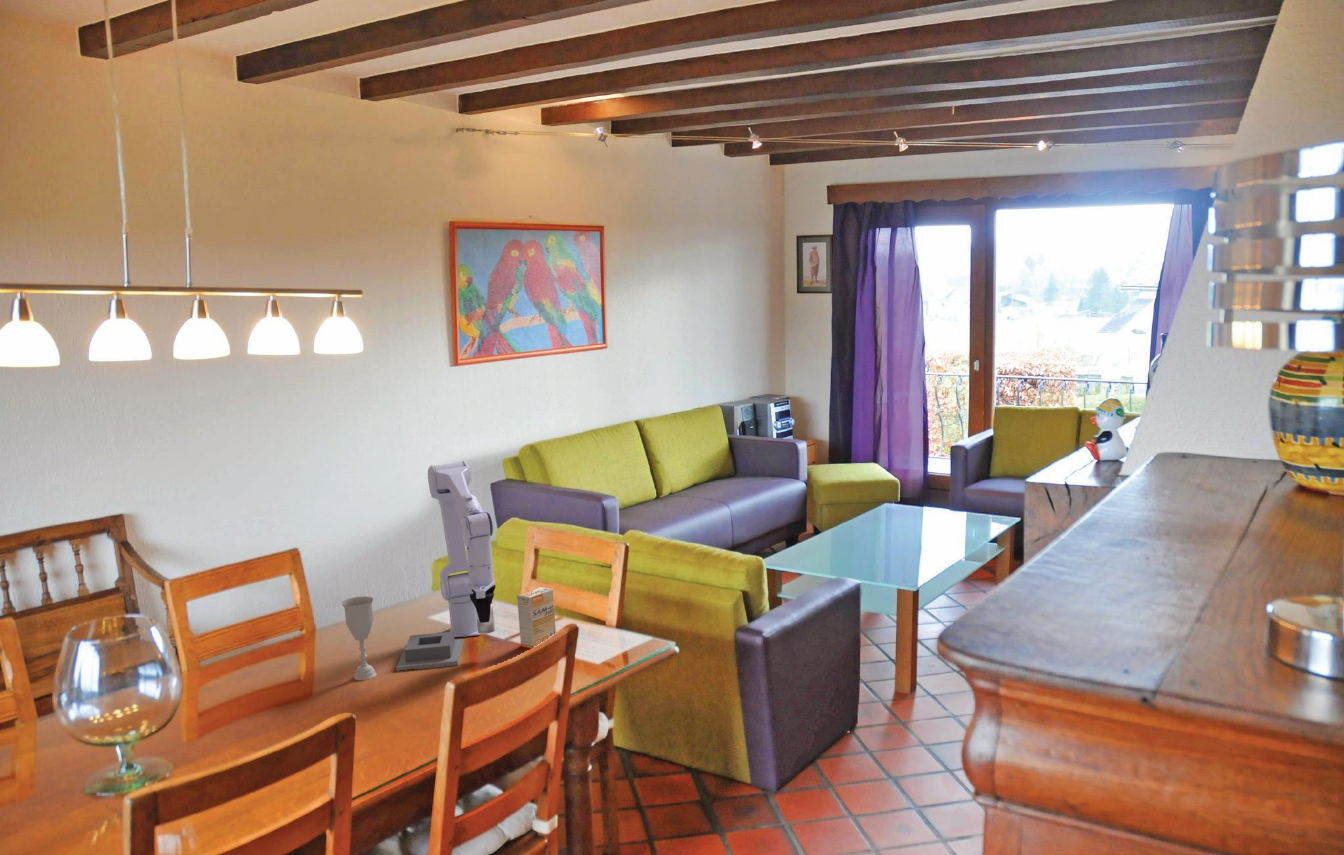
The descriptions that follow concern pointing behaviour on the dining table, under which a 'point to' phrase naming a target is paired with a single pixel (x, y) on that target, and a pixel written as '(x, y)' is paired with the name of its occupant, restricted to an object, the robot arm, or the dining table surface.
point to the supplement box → (536, 616)
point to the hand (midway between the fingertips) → (485, 619)
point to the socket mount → (430, 651)
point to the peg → (486, 623)
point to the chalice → (360, 629)
